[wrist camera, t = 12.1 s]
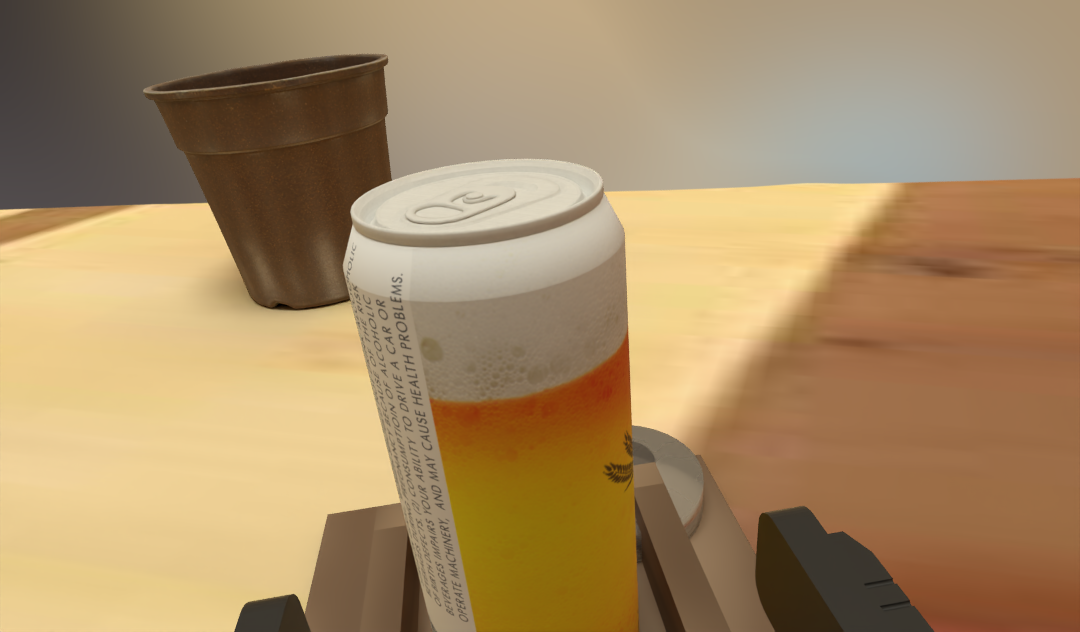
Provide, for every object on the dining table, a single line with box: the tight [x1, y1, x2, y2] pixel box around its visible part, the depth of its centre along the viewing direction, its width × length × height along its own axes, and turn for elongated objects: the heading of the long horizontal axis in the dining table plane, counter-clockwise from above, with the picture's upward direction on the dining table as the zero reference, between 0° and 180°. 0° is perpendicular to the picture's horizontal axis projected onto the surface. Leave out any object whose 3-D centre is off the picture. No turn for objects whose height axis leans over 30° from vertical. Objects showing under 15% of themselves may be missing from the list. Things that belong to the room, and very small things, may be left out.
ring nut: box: [632, 426, 704, 563], centre depth 26 cm, size 6×6×3 cm
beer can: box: [343, 159, 639, 632], centre depth 17 cm, size 6×6×15 cm
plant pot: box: [143, 54, 392, 309], centre depth 49 cm, size 16×16×16 cm
